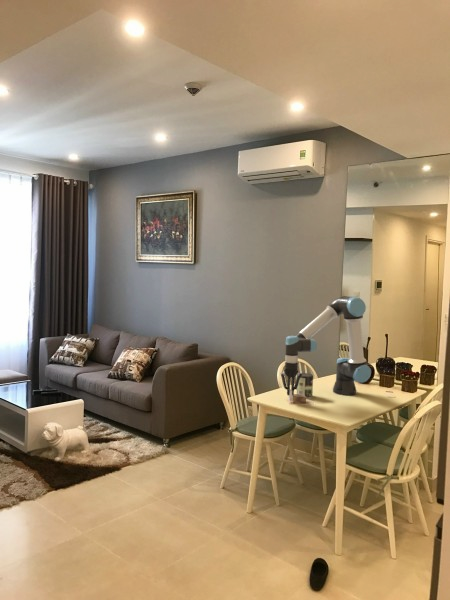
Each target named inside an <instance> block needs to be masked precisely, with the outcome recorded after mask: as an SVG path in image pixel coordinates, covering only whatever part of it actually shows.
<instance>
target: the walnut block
mask: <svg viewBox="0 0 450 600" xmlns="http://www.w3.org/2000/svg"><path fill="white" fill-rule="evenodd" d="M306 400H307V398H306V396H305V395H304V394H297V393H294V395H292V401H293V403H294V404H306Z"/></svg>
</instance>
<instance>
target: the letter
mask: <svg viewBox="0 0 450 600" xmlns="http://www.w3.org/2000/svg"><path fill="white" fill-rule="evenodd" d="M285 401H286V402H287V404H288V405H289V406H317V405H316V403H315V402H314V401H313V400H312V399H306V404H294V403H293V401H289V400H288V399H285Z"/></svg>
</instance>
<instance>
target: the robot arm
mask: <svg viewBox="0 0 450 600" xmlns="http://www.w3.org/2000/svg"><path fill="white" fill-rule="evenodd" d="M365 303H366V302H364V300H363V299H362V298H360V297H357V296H350V295H349V296H347V295H342V296H339V297H337V298H335V299H334V300H333V301H332V302H330V303H329V304H328V305H327V306H326V307H325V310H323V311H322V312H321V313H320V314H319V315H317V316H316V317H315V318H314V319H313V320H311V321H310V323H308V324H307V325H306V326H304V328H302V329H301V330H300V331H299V332H298V333H297V334H294V335H288V336H286V338H285V343H284V344H285V355H284V357H285V358H284V359H285V362H284V369H283V372H280V374H279V375H280V376H281V379H282V384H283V388H284V389H285V390H286V393H287V394H286V395H287V396H288V399H287V400H289V401H292V395H294V394H295V390H297V387H298V383H299V380H300V377H301V376H302V374H301V373H302V372H299V369H298V368H299V367H298V365H299V353H306V352H315V351H316V350H317V347H318V343H317V340H315V339H314V338H313V336H315V335H316V334H317V333H318V332H319V331H320V330H322V329H323V328H325V326H327V324H329V323H330V322H331V321H332V320H333V319H337V318H338V317H339V316H342V315H343V320H344V321H345V322H346V329H347V341H348V353H349V357H338V358H337V360H336V373H335V375H336V376H335V382H334V384H333V387H332V392H333V393H335V394H338V395H343V396H353V395H356V394H357V387H356V384H355V382H356V383H366V382H367V381H368V380H369V379H370V377H371V376H372V375H371V374H372V369H371V368H370V366H369V365H367V363H368V362H367V359H366V358H365V355H364V345H363V334H362V333H363V332H362V322H361V321H362V319H364V318H363V317H364V314H365V312H366V310H367V307H366V304H365ZM285 375H286V377H287V378H286V377H285ZM295 377H296V379H295ZM286 379H287V380H286Z"/></svg>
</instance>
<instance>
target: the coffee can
mask: <svg viewBox="0 0 450 600" xmlns="http://www.w3.org/2000/svg"><path fill="white" fill-rule="evenodd" d="M300 373H301V374H302V376H301V377H300V380H299V383H298V387H297V389H296V394H304V395H305V396H306V399H311V398H313V391H314V390H313V389H314V387H313V386H314V374H311V373H307V372H306V373H305V372H300Z"/></svg>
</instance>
